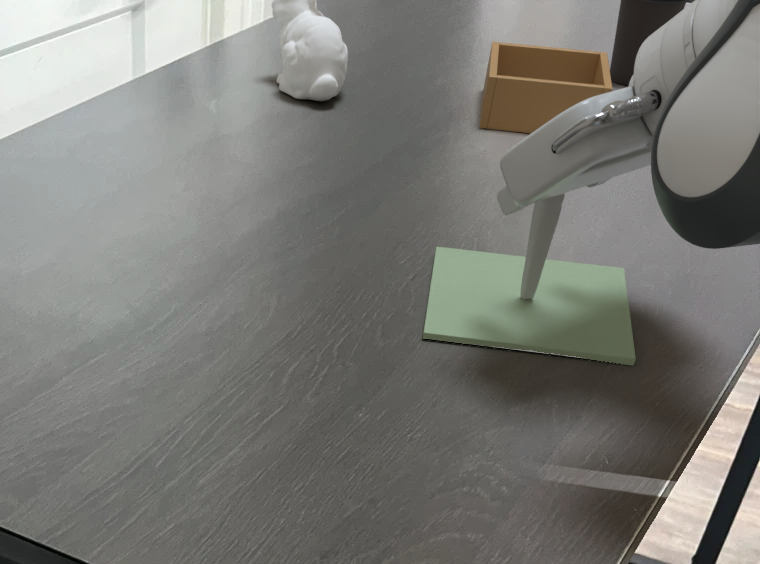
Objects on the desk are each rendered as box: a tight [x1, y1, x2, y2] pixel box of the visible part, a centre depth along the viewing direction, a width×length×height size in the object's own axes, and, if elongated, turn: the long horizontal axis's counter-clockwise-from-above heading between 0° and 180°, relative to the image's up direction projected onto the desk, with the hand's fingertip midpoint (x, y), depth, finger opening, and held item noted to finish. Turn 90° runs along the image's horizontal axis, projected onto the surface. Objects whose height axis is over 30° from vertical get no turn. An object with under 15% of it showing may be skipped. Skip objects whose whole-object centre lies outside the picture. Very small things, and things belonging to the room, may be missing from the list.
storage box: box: [479, 41, 613, 134], centre depth 119 cm, size 13×13×5 cm
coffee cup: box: [609, 0, 690, 87], centre depth 127 cm, size 8×8×10 cm
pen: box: [521, 193, 565, 300], centre depth 84 cm, size 2×3×14 cm
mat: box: [422, 246, 636, 367], centre depth 89 cm, size 16×16×1 cm
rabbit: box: [271, 0, 349, 102], centre depth 120 cm, size 12×9×12 cm
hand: (548, 190), depth 83 cm, fingers open, 8 cm apart
